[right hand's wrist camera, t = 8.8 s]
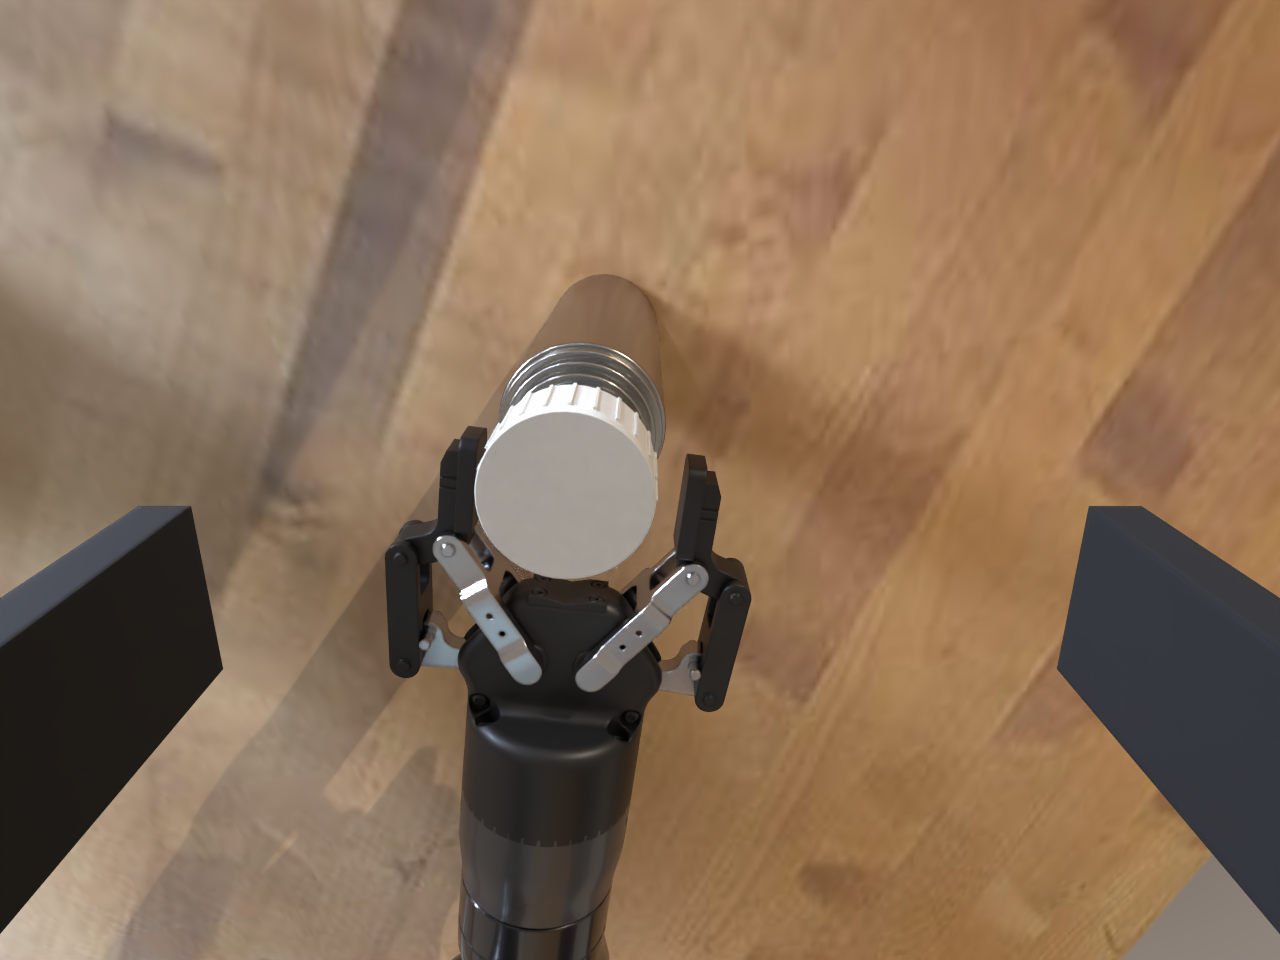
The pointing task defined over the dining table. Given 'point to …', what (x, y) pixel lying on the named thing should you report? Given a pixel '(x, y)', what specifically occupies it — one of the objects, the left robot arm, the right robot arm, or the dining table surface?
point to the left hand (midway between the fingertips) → (585, 446)
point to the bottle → (598, 350)
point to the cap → (568, 482)
